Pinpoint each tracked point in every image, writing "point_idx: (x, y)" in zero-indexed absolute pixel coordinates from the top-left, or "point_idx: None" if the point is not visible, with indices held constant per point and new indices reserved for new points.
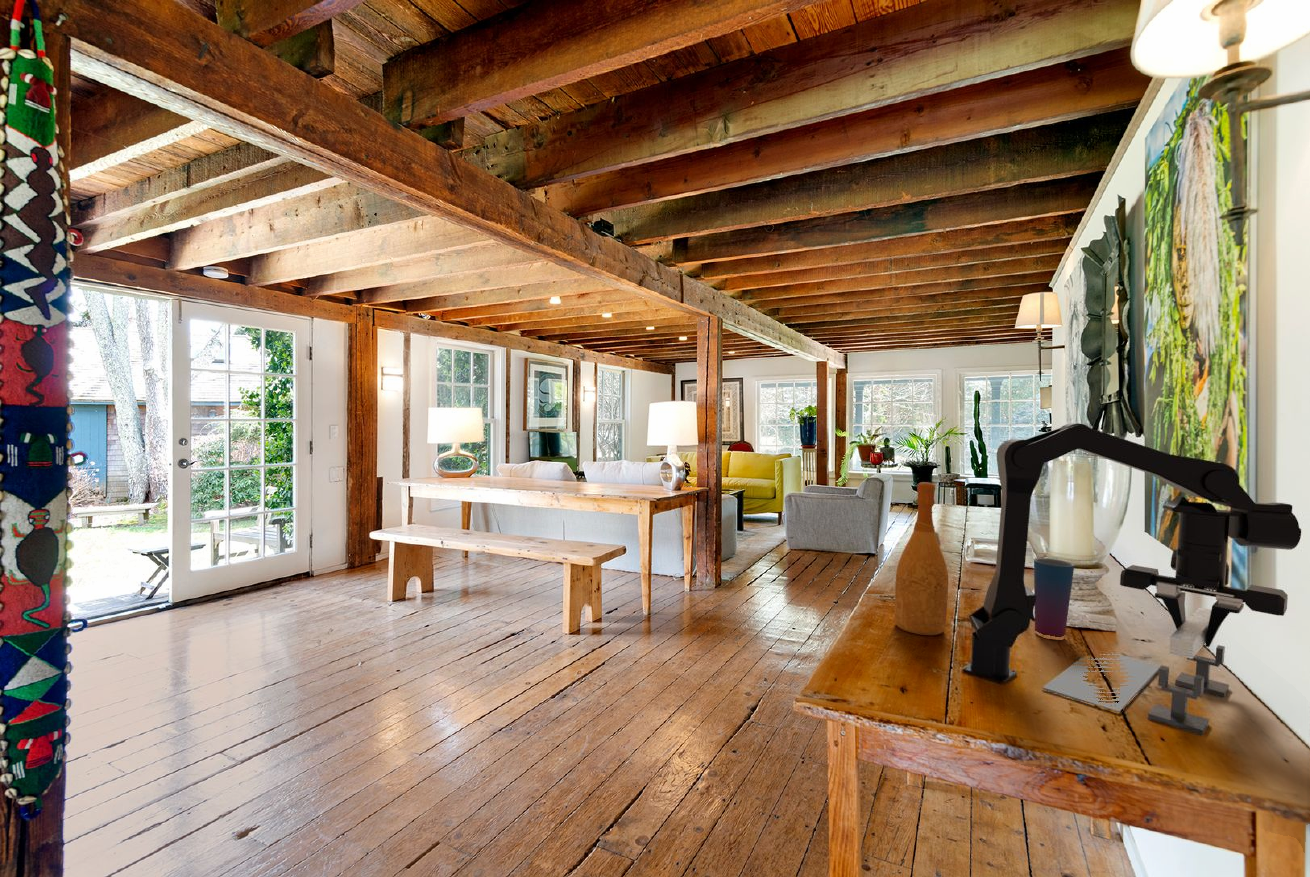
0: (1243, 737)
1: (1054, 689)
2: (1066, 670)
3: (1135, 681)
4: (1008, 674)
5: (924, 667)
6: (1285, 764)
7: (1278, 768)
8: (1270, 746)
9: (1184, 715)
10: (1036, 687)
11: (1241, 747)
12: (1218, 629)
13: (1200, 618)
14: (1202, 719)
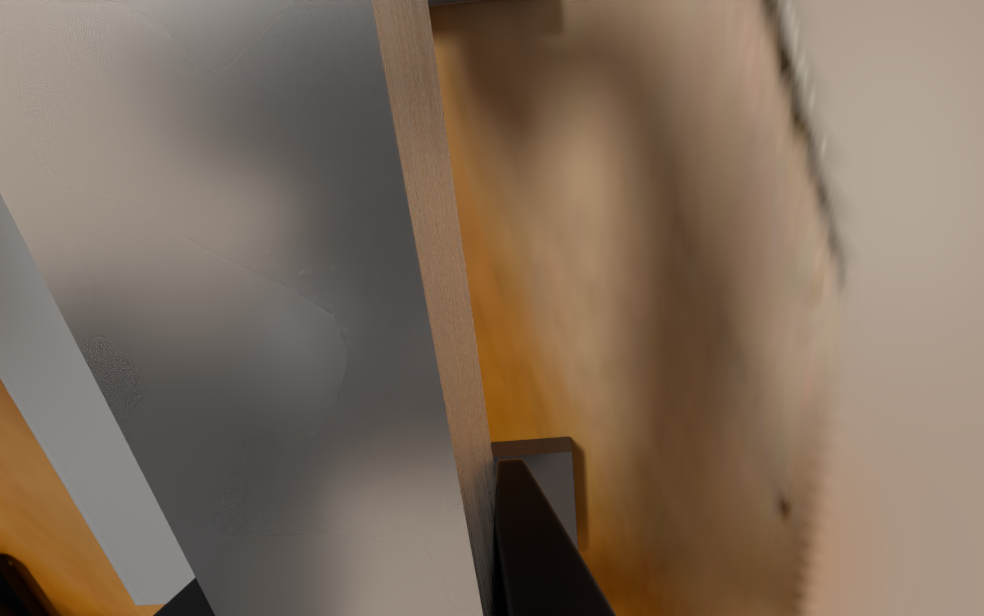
0: (673, 442)
1: (162, 594)
2: (13, 392)
3: None
4: (15, 609)
5: None
6: (782, 534)
7: (763, 571)
8: (748, 443)
9: None
10: (115, 586)
11: (675, 521)
12: (602, 598)
13: (286, 457)
14: (556, 471)
